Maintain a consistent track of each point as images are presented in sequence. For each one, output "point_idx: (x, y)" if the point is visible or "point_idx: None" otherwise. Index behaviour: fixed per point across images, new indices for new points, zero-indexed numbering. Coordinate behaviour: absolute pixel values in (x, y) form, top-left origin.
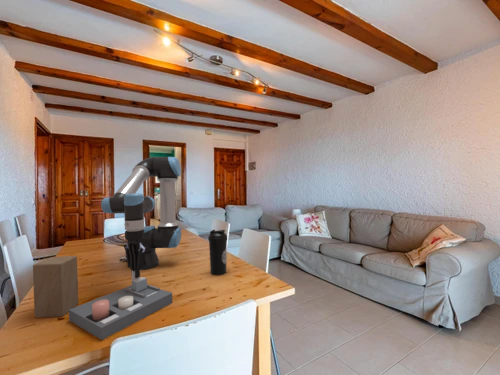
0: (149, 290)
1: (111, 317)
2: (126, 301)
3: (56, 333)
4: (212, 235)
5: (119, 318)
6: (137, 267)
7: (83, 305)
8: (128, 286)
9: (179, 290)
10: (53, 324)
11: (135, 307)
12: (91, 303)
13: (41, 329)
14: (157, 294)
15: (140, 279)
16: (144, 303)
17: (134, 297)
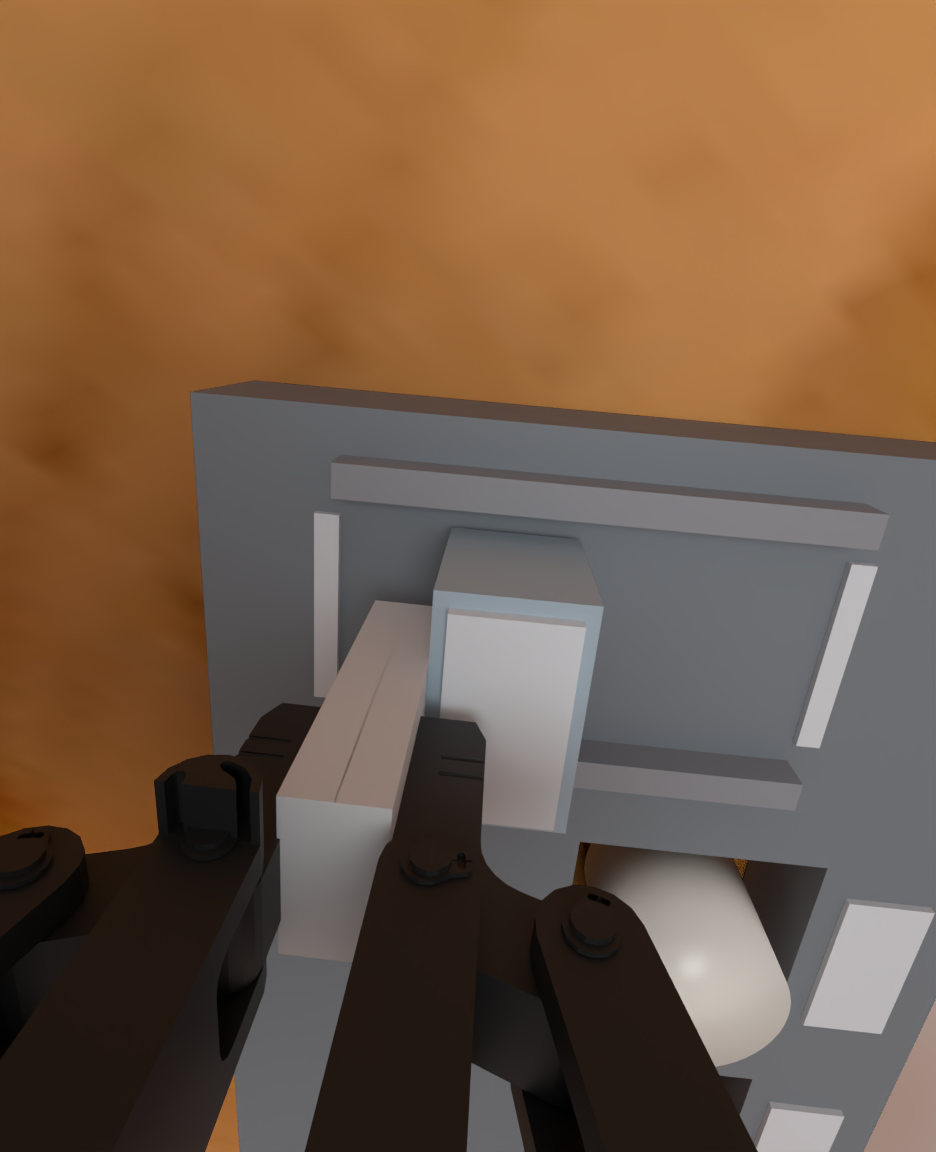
0: (681, 574)
1: (782, 1143)
2: (768, 1043)
3: None
4: None
5: (869, 1125)
6: (576, 1130)
7: (271, 1087)
8: (207, 604)
9: (919, 7)
10: (231, 1100)
11: (884, 976)
12: (297, 1045)
13: (234, 1146)
14: (927, 625)
15: (540, 731)
16: (916, 873)
17: (644, 813)
